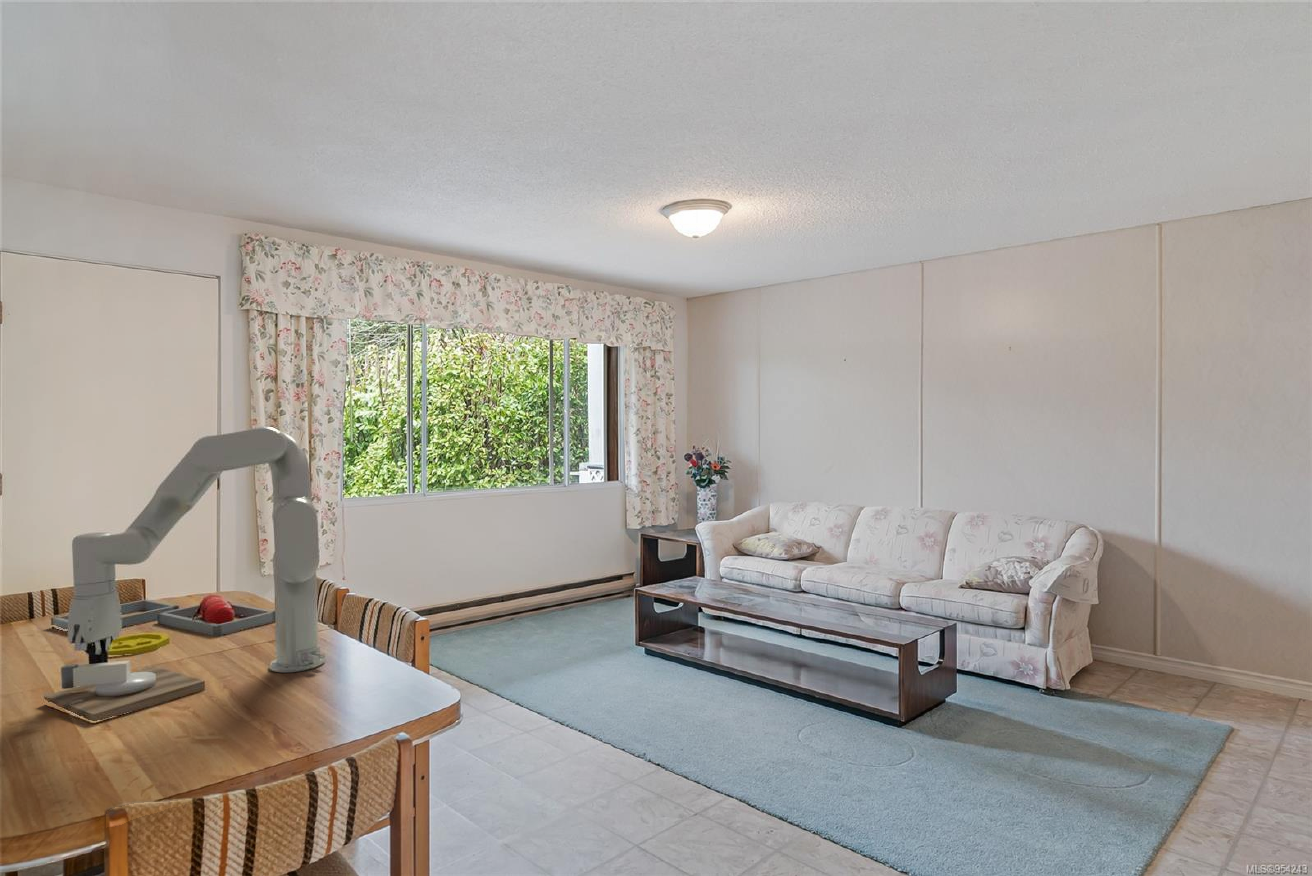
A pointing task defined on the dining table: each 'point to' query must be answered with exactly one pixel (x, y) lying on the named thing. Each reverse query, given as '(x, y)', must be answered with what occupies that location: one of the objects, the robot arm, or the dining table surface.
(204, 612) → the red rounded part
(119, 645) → the decorative disc
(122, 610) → the tray
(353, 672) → the dining table surface
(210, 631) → the tray
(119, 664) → the dial
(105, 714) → the dial plate
